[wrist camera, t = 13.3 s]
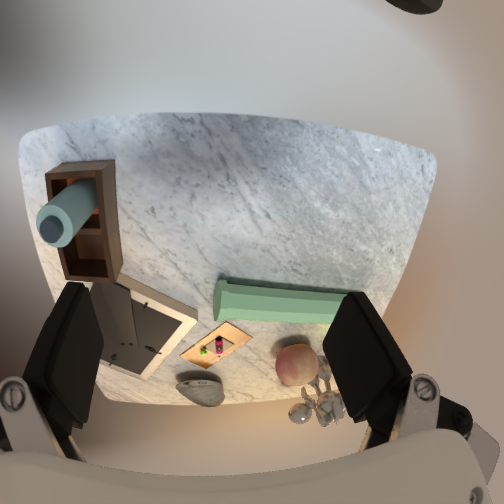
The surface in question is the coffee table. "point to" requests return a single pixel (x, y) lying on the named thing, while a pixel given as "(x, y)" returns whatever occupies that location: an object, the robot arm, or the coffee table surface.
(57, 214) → the bottle
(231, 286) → the container
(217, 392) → the seashell
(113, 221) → the holder
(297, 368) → the apple
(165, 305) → the picture frame
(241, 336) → the board
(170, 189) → the coffee table surface
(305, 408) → the robot toy
